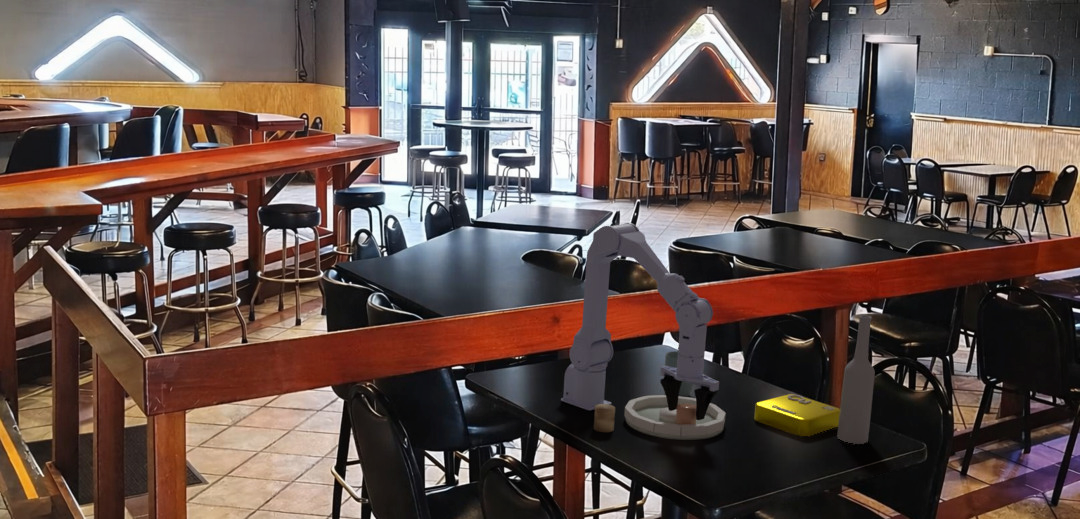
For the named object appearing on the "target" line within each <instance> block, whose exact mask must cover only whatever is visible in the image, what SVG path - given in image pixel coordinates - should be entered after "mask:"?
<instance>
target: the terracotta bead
mask: <svg viewBox="0 0 1080 519" xmlns="http://www.w3.org/2000/svg"><path fill="white" fill-rule="evenodd" d="M676 424H679V425H686V424H696V406H695V405H692V404H685V403H683V404H678V405H677V411H676Z"/></svg>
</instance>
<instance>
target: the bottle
mask: <svg viewBox="0 0 1080 519" xmlns="http://www.w3.org/2000/svg"><path fill="white" fill-rule="evenodd" d="M858 318H859V320H858V327H857V328H858V330H857V340H856V344H855V345H856V346H855V351H854V356H853V359H852V360H851V361H849V362H848V363H847V364H846V366H845V368H844V373H843V381H842V390H841V397H840V407H839V409H840V414H839V423H838V428H837V435H836V438H837V437H838V438H837V439H840V440H842V441H844V442H843V443H845V442H848V443H847V444H849V443H853V444H852V445H855V444H858V445H859V444H862V445H865V444H864V443H866V442H867V443H868V442H869V434H870V433H869V432H870V424H871V415H872V405H873V394H874V385H875V384H874V383H875V373H876V372H875V369H874V367H873V366H872V364H871V362H870V361H869V346H870V345H869V344H870V343H869V342H870V334H871V332H870V331H871V322H872V320H873V317H872V316H871V315H868V314H867V315H865V314H860V315H859V316H858ZM840 440H839V441H840ZM842 441H841V442H842ZM867 443H866V444H867Z"/></svg>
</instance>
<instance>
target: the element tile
mask: <svg viewBox="0 0 1080 519" xmlns="http://www.w3.org/2000/svg"><path fill="white" fill-rule="evenodd" d="M839 414H840V407H836V406H834V405H833V406H832V405H830V404H827V403H822V402H821V401H820V402H819V401H817V400H814V399H810V398H808V397H804V396H802V395H799V394H794V393H789V394H785V395H781V396H777V397H771V398H768V399H765V400H760V401H758V402H756V403H755V404H754V414H753V415H754V416H753V419H754V421H756V422H758V423H761V424H763V425H767V426H770V427H772V428H774V429H777V430H780V431H783V432H786V433H789V434H790V435H791V434H792V435H794V434H795V435H794V436H797V435H800V436H799V437H802V436H808V437H811V435H812V436H815V435H814V434H816V435H818V434H817V433H819V434H821V433H820V432H822V433H824V432H823V431H825V432H827V431H826V430H829V429H832V428H835V427H838V423H839ZM835 429H836V428H835ZM832 430H833V429H832ZM829 431H830V430H829Z"/></svg>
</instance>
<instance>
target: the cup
mask: <svg viewBox="0 0 1080 519" xmlns="http://www.w3.org/2000/svg"><path fill="white" fill-rule="evenodd" d="M677 359H678V350H676V351H675V350H674V351H673V350H671V351H668V352H666V353H665V358H664V366H669V367H674V368H677ZM694 387H695V385H694V384H691V383H687V382H684V381H682V383H681V387H680V390H679V396H681V397H688V396H689V395H690V394H692V392H693V391H694Z"/></svg>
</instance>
